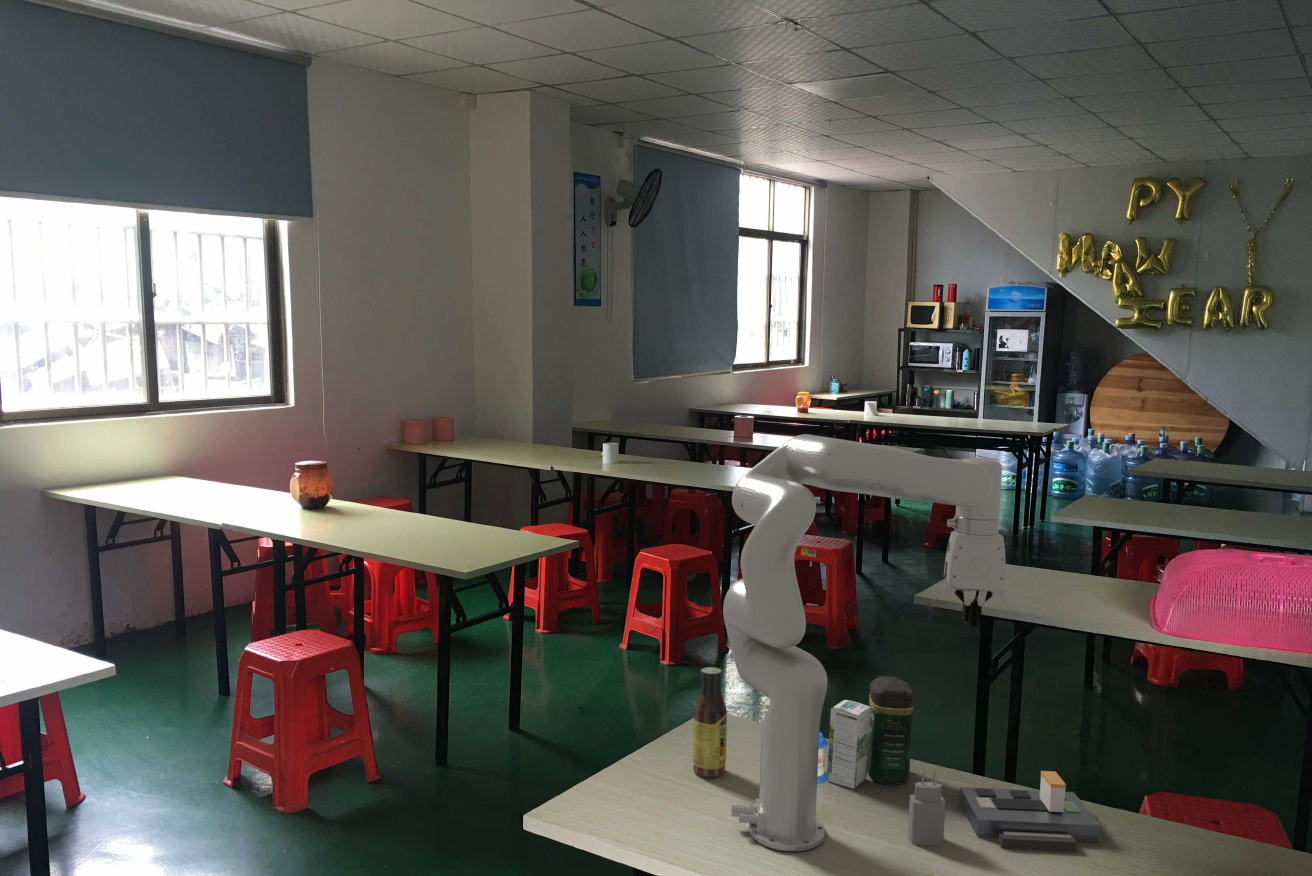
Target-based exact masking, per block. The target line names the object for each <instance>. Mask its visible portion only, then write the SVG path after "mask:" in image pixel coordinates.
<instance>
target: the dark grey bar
mask: <svg viewBox="0 0 1312 876" xmlns="http://www.w3.org/2000/svg"><path fill="white" fill-rule="evenodd" d="M1077 843H1078V842H1076V841H1075V839H1074V838H1073V837H1071V835H1067V834H1046V833H1026V832H1005V831H1003V834H999V838H998V844H999V846H1000V848H1001V849H1013V850H1015V849H1016V850H1032V851H1033V850H1034V851H1049V852H1051V851H1053V852H1058V851H1059V852H1073V853H1074V852H1075V853H1076V852H1077Z"/></svg>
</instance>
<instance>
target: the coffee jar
mask: <svg viewBox="0 0 1312 876" xmlns="http://www.w3.org/2000/svg"><path fill="white" fill-rule="evenodd" d="M868 701H869V703H868V706H869V707H870V708H871V718H870V734H869V750H868V765H867V776H868V777H869V778H870V779H871V780H872V781H873V782H877V783H881V784H884V785H888V786H897V785H901V784H906V783H907V782H908V781H909V779H910V771H911V770H910V768H911V750H912V749H911V748H912V732H913V714H914V693H913V690H912V688H911V687H910V684H908V683H907V682H905V680H902V679H901V678H900V677H899V676H889V675H887V676H885V675H879V676H878V677H876V678H875V679H873V680H872V681H871V682H870V686H869V699H868Z"/></svg>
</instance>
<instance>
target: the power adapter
mask: <svg viewBox="0 0 1312 876" xmlns="http://www.w3.org/2000/svg"><path fill="white" fill-rule="evenodd" d="M921 778H922V779H921V781H919V782H916V783H915V784H914V794H910V795H909V809H908V828H907V839H908V840H909V842H910V844H911V845H915V846H943V845H944V840H945V839H944V837H945V820H946V800H945V798H944V797H943V796H942V786H943V785H942V784H940V783H938V782H936V771H935V770H934V771H933V777H932V781H928V782H927V781H925V770H922V777H921Z"/></svg>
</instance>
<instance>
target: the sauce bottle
mask: <svg viewBox="0 0 1312 876" xmlns="http://www.w3.org/2000/svg"><path fill="white" fill-rule="evenodd" d="M700 679H701V683H700V684H701V686H700V695H699V696H698V698H697V700H696V701H695V704H694V718H693V743H692V744H693V748H692V749H693V751H692V752H693V753H692V756H693V757H692V764H693V768H692V769H693V772H694V773H695V775H698V776H700V777H702V778H709V779H710V778H718V777H720V776H722V775H723V774H724V773H725V769H726V761H727V733H728V732H727V729H728V728H727V722H728V721H727V720H728V709H727V708H726V703H725V701H724V697H723V694H722V679H723V670H722V669H720V668H718V667H715V666H714V667H712V666H708V667H703V668H702V669H700Z"/></svg>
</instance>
